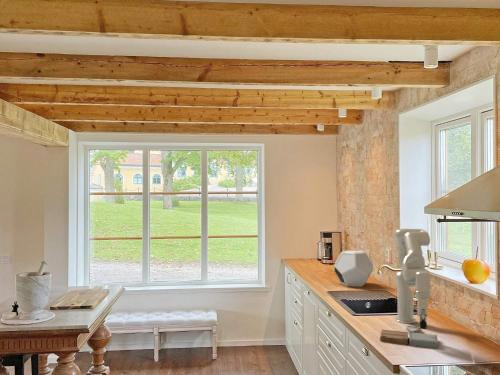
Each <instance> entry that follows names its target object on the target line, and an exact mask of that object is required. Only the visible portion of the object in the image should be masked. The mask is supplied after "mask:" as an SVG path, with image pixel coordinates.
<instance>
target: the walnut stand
mask: <svg viewBox="0 0 500 375" xmlns="http://www.w3.org/2000/svg"><path fill="white" fill-rule="evenodd" d="M379 342H382V343H383V342H385V343H391V344H397V345H405V346H408V343H409V331H400V330H389V329H381V332H380V337H379Z"/></svg>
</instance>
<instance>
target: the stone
mask: <svg viewBox="0 0 500 375" xmlns="http://www.w3.org/2000/svg"><path fill="white" fill-rule="evenodd" d="M405 329H406V330H407V332H409V333H410V332H411V333H422V334H426V333H425V331H423V329H420V326H416V325H413V326H412V325H407V326H406V327H405Z"/></svg>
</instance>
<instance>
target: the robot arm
mask: <svg viewBox="0 0 500 375" xmlns="http://www.w3.org/2000/svg"><path fill="white" fill-rule="evenodd" d="M394 238H395V241H396V244H397V248H398V249H397V250H398V251H397V252H398V254H397V258H398V259H397V262H398V263H397V264H398V267H399V268H400V269H401V270H400V271H397V272H396V274H395V282H396V289H397V293H396V294H397V295H396V296H397V300H396V301H397V316H396V317H395V318H394V321H396V323H397V322H398V323H400V324H401V323H402V324H415V323H416V322H417V319H416V318H414V293H413V291H412V289H411V288H410V287H415V298H417V302H416V303H417V308H416V309H417V316H418V317H419V328H420V329H421V330H427V328H428V326H427V318H428V312H429V299H431V273H430V271H429V269H426V260H425V257H424V256H423V254H424V253H423V248H422V247H423V246H424V247H425V246H426V247H427V246H429V245H430V243H431V236H430V234H429V232H427V230H425V229H423V228H399V229H396V231H395V233H394Z"/></svg>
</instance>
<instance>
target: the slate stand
mask: <svg viewBox="0 0 500 375" xmlns="http://www.w3.org/2000/svg"><path fill="white" fill-rule="evenodd" d="M408 343H409V346H411V347H412V346H413V347H420V348H421V347H422V348H429V349H439V341H438V334H431V333H430V334H429V333H424V334H422V333H411V332H410V331H409V338H408Z"/></svg>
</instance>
